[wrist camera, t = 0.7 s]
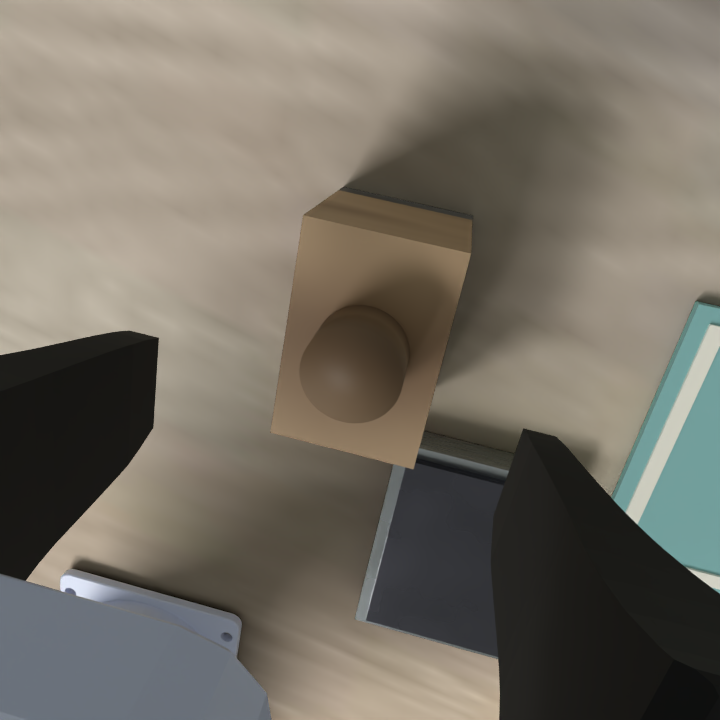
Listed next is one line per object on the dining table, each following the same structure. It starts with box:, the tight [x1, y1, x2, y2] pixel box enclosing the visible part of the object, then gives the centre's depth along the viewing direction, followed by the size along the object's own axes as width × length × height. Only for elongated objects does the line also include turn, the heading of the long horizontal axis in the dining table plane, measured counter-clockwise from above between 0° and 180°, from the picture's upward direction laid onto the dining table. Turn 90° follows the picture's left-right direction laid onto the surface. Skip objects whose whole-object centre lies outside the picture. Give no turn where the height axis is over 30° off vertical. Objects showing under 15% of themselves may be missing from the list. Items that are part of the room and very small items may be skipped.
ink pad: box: [355, 431, 515, 659], centre depth 23 cm, size 8×6×2 cm
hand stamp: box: [270, 187, 473, 469], centre depth 18 cm, size 6×4×7 cm, turn 169°
